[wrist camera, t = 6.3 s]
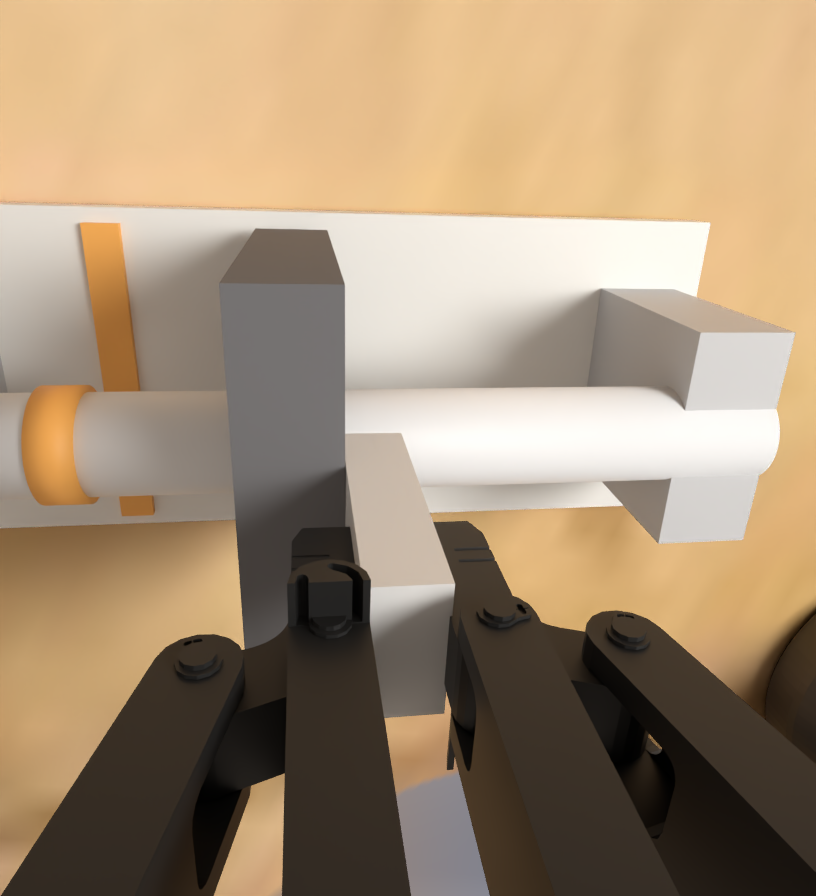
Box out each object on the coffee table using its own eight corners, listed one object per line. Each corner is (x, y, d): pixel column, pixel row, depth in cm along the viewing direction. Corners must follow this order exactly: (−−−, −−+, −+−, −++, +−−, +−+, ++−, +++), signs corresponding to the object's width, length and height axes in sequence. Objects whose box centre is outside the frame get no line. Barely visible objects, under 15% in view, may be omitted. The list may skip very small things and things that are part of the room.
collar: (327, 229, 24) (344, 284, 13) (330, 514, 28) (345, 717, 18) (255, 228, 23) (218, 283, 13) (269, 517, 27) (250, 725, 17)
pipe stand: (694, 219, 27) (868, 248, 19) (643, 492, 32) (765, 613, 23) (-144, 198, 23) (-402, 221, 15) (-62, 516, 28) (-221, 673, 19)
